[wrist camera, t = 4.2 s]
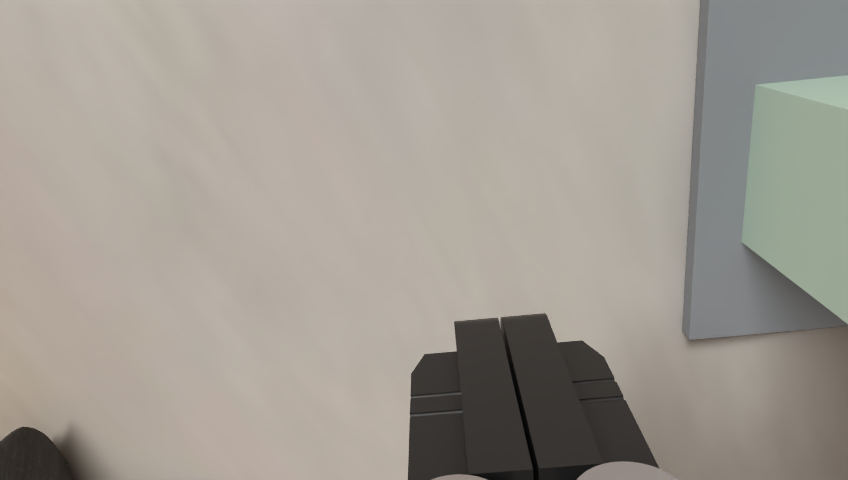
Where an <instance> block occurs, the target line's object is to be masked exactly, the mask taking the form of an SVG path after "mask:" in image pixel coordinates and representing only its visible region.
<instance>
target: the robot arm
mask: <svg viewBox="0 0 848 480" xmlns="http://www.w3.org/2000/svg"><path fill="white" fill-rule="evenodd" d="M454 324H455V335H456V346H457V352H446V353H434V354H425V355H424V356H423V358H422V359H421V361H420V362H419V363H418V365H417V366H416V368H415V369H414V371H413V372H412V373H411V402H410V433H409V465H408V480H679V479H677V478H676V477H675V476H673V475H671V474H669V473H668V472H666V471H664V470H661V469H659V467H658V465H657V463H656V461H655V459H654V457H653V455H652V453H651V451H650V449H649V447H648V445H647V443H646V441H645V439H644V437H643V435H642V433H641V431H640V429H639V427H638V425H637V423H636V421H635V419H634V417H633V415H632V412H631V410H630V408H629V406H628V404H627V402H626V400H624V399H623V394H622V392H621V390H620V388H619V386H618V384H617V382H615V381H614V376H613V374H612V372H611V370H610V368H609V366H608V364H607V362H606V360H605V358H604V357H603V356H602V355H600V354H599V353H598V352H596V351H595V350H594V349H593V348H591V347H590V346H589V345H587V344H586V343H585V342H583V341H571V342H560V343H557V341H556V338H555V336H554V333H553V330H552V328H551V325H550V323H549V320H548V317H547V315H546V314H545V313H544V314H533V315H521V316H510V317H501V329H500V324H499V320H498V318H489V319H478V320H466V321H455V322H454Z"/></svg>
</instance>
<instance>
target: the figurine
mask: <svg viewBox="0 0 848 480" xmlns="http://www.w3.org/2000/svg"><path fill="white" fill-rule="evenodd" d="M0 480H74V478H73V476H72V473H71V471H70V469H69V467H68V465H67V463H66V461H65V459H64V458H63V457H62V455H61V454H60V452H59V451H58V449H57V448H56V446H55V445H54V443H53V442H52V441H51V440H50V439H49V438H48V437H47V436H46V435H45V434H44V433H42V432H40V431H38V430H36V429H34V428H29V427H21V428H18V429H16V430H15V431H13V432H11V433H10V434H9V435H8V436H6V437H5V438H4V439H3V440H1V441H0Z"/></svg>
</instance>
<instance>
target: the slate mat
mask: <svg viewBox="0 0 848 480" xmlns="http://www.w3.org/2000/svg"><path fill="white" fill-rule="evenodd" d="M846 75H848V0H700V17H699V35H698V53H697V72H696V90H695V108H694V126H693V145H692V163H691V181H690V199H689V218H688V236H687V254H686V272H685V291H684V309H683V327H682V332H683V333H684V334H685V336H686V337H687V338H688V339H689V340H695V339H706V338H717V337H729V336H740V335H751V334H763V333H774V332H785V331H797V330H808V329H819V328H831V327H842V326H848V324H847V323H846V322H844V321H843V320H842V319H840V318H839V317H838V316H837V315H835V314H834V313H833V312H831V311H830V310H829V309H828V308H826V307H825V306H824V305H822V304H821V303H820V302H819V301H817V300H816V299H815V298H813V297H812V296H811V295H809V294H808V293H807V292H806V291H804V290H803V289H802V288H800V287H799V286H798V285H797V284H795V283H794V282H793V281H791V280H790V279H789V278H787V277H786V276H785V275H784V274H782V273H781V272H780V271H778V270H777V269H776V268H775V267H773V266H772V265H771V264H769V263H768V262H767V261H765V260H764V259H763V258H762V257H760V256H759V255H758V254H756V253H755V252H754V251H753V250H751V249H750V248H749V247H747V246H746V245H745V244H743V243H742V242H741V241H742V230H743V219H744V207H745V196H746V185H747V173H748V162H749V151H750V140H751V128H752V117H753V106H754V95H755V85H758V84H768V83H778V82H788V81H797V80H807V79H817V78H826V77H836V76H846Z"/></svg>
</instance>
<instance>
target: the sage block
mask: <svg viewBox="0 0 848 480" xmlns="http://www.w3.org/2000/svg"><path fill="white" fill-rule="evenodd" d="M741 242H742V243H743V244H745V245H746V246H747V247H749V248H750V249H751V250H753V251H754V252H755V253H756V254H758V255H759V256H760V257H762V258H763V259H764V260H765V261H767V262H768V263H769V264H771V265H772V266H773V267H775V268H776V269H777V270H778V271H780V272H781V273H782V274H784V275H785V276H786V277H787V278H789V279H790V280H791V281H793V282H794V283H795V284H797V285H798V286H799V287H800V288H802V289H803V290H804V291H806V292H807V293H808V294H809V295H811V296H812V297H813V298H815V299H816V300H817V301H819V302H820V303H821V304H822V305H824V306H825V307H826V308H828V309H829V310H830V311H831V312H833V313H834V314H835V315H837V316H838V317H839V318H840V319H842V320H843V321H844V322H846V323H847V324H848V75H846V76H836V77H826V78H817V79H807V80H797V81H788V82H778V83H768V84H758V85H755V95H754V106H753V117H752V128H751V140H750V151H749V162H748V173H747V185H746V196H745V207H744V219H743V230H742V241H741Z"/></svg>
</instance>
